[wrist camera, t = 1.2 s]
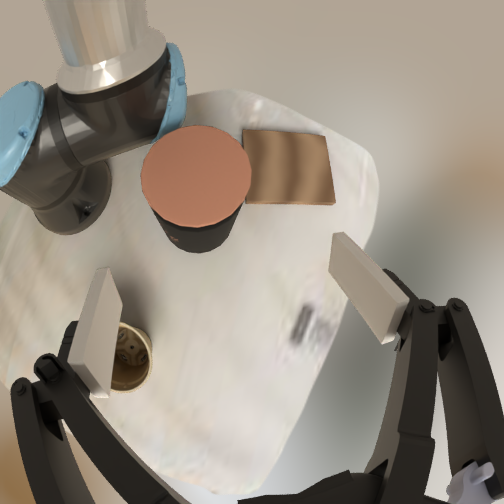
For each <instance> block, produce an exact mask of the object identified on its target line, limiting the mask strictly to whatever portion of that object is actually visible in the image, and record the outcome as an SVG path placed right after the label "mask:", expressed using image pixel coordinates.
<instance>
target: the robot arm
mask: <svg viewBox="0 0 504 504" xmlns="http://www.w3.org/2000/svg"><path fill="white" fill-rule="evenodd" d="M43 3H44V6H45V9H46V12H47V15H48V18H49V20H50V24H51V27H52V29H53V32H54V35H55V38H56V40H57V43H58V46H59V48H60V51H61V53H62V56H63V58H64V60H63V62H62V64H61V65H60V67H59V70H58V72H57V76H56V80H57V83H56V84H54V85H51V86H49V87H48V88H45V89H43V87H42V86H41V85H40V84H37V83H36V82H33V81H31V82H28V81H25V82H22V83H19V84H17V85H15V86H14V87H12V88H11V89H9V90H8V91H7V92H6V93H5V94H4V95H3V96H2V97H1V98H0V190H1V191H3V192H5V193H6V194H8V195H10V196H12V197H13V198H15V199H17V200H19V201H21V202H22V203H24V204H26V205H28V206H30V207H31V208H32V210H33V211H34V214H35V216H36V218H37V219H38V221H39V222H40V223H41V224H42V225H43V226H44V227H45V228H46V229H48V230H50V231H52V232H54V233H57V234H60V235H72V234H76V233H78V232H81V231H83V230H85V229H86V228H88V227H89V226H90V225H91V224H93V223H94V222H95V221H96V220H97V218H98V217H99V216H100V215H101V213H102V212H103V210H104V208H105V206H106V204H107V202H108V199H109V196H110V192H111V174H110V171H109V168H108V166H107V164H106V163H105V161H104V160H105V159H107V158H110V157H112V156H115V155H118V154H121V153H123V152H126V151H129V150H132V149H135V148H138V147H141V146H144V145H147V144H151V143H154V142H156V141H157V140H158V139H161V138H162V137H163V136H164V135H166V134H168V133H170V132H172V131H174V130H176V129H178V128H181V126H182V124H183V122H184V119H185V115H186V108H187V87H186V83H185V69H184V64H183V59H182V55H181V53H180V51H179V49H178V47H177V46H176V45H175V44H174V43H166V40H165V37H164V35H163V34H162V33H161V32H160V31H159V30H156V29H154V28H152V27H150V26H148V20H147V11H146V2H145V0H43ZM328 271H329V273H330V274H331V275H332V277H333V278H334V279H335V281H336V282H337V283H338V285H339V286H340V287H341V289H342V290H343V291H344V293H345V294H346V295H347V297H348V298H349V299H350V301H351V302H352V303H353V305H354V306H355V308H356V309H357V310H358V312H359V313H360V314H361V316H362V317H363V319H364V320H365V321H366V323H367V324H368V326H369V327H370V328H371V330H372V331H373V333H374V334H375V336H376V337H377V338H378V340H379V341H380V343H381V344H384V343H387V342H389V341H392V340H394V337H395V335H396V332H398V334H399V335H400V336H401V337H400V339H399V341H398V343H397V346H396V348H395V350H394V351H396V350H397V348H398V350H397V356H396V362H395V368H394V373H393V378H392V383H391V388H390V393H389V398H388V402H387V406H386V410H385V415H384V418H383V422H382V426H381V430H380V433H379V437H378V440H377V443H376V446H375V450H374V453H373V455H372V457H371V459H370V461H369V462H368V464H367V467H366V468H365V471H364V473H350V471H349V470H346V471H344V472H341V473H339V474H336V475H334V476H331V477H328V478H325V479H323V480H321V481H320V482H318V483H316V484H314V485H313V486H311V487H309V488H307V489H306V490H304V491H302V492H300V493H298V494H289V495H288V494H287V495H263V496H259V497H254V498H248V499H242V500H237V501H238V504H491V503H493V502H495V501H497V500H499V499H502V498H504V415H503V411H502V407H501V402H500V398H499V394H498V390H497V387H496V383H495V380H494V376H493V373H492V370H491V366H490V364H489V361H488V357H487V354H486V352H485V349H484V346H483V343H482V341H481V338H480V335H479V333H478V330H477V328H476V325H475V323H474V321H473V318H472V316H471V313H470V311H469V309H468V306H467V305H466V304H465V303H464V302H463V301H462V300H460V299H458V298H451V299H449V300H448V302H447V305H446V306H435V305H434V304H433V303H432V302H430V301H428V300H426V299H420V300H419V299H418V298H417V297H416V296H415V295H414V293H412V291H411V290H410V289H409V288H408V287H407V286H406V285H405V284H404V283H403V282H402V281H401V280H399V278H398V277H397V276H396V275H395V274H394V273H393V272H391V271H389V270H387V269H381V268H380V267H379V266H378V265H377V264H376V263H375V262H374V261H373V260H372V259H371V258H370V257H369V256H368V255H367V254H366V253H365V252H364V251H363V250H362V249H361V248H360V247H359V246H358V245H357V244H356V243H355V242H354V241H353V240H352V239H351V238H350V237H348V236H347V235H346V234H345V233H344V232H340V233H333V237H332V246H331V254H330V262H329V270H328ZM122 306H123V304H122V301H121V299H120V296H119V293H118V291H117V288H116V285H115V283H114V280H113V277H112V274H111V272H110V269H109V267H107V268H100V269H97V271H96V273H95V276H94V278H93V281H92V284H91V286H90V289H89V292H88V295H87V298H86V300H85V303H84V306H83V309H82V312H81V315H80V318H79V321H72V322H71V323H70V324H69V326H68V327H67V328H66V331H65V334H64V338H63V340H62V345H61V346H60V350H59V353H58V357H56V356H55V355H54V354H51V353H48V354H44V355H42V356H40V357H39V358H38V359H37V361H36V362H35V364H34V373H35V374H36V376H37V377H38V378H39V379H40V381H37V382H34V383H31V382H30V381H29V380H28V379H27V378H24V377H22V378H19V379H17V380H16V381H15V382H14V383H13V384H12V387H11V402H12V410H13V417H14V422H15V428H16V434H17V438H18V444H19V448H20V452H21V456H22V460H23V464H24V468H25V471H26V474H27V478H28V481H29V484H30V487H31V490H32V493H33V496H34V499H35V501H36V504H95V502H94V500H93V498H92V496H91V494H90V492H89V490H88V488H87V486H86V484H85V481H84V479H83V477H82V475H81V472H80V470H79V468H78V465H77V463H76V460H75V458H74V455H73V453H72V450H71V448H70V445H69V442H68V439H67V436H66V433H65V430H64V427H63V424H62V421H61V419H64V421H65V423H66V424H67V426H68V427H69V429H70V431H71V432H72V434H73V435H74V437H75V438H76V440H77V441H78V442H79V444H80V445H81V447H82V448H83V450H84V451H85V452H86V454H87V455H88V457H89V458H90V459H91V461H92V462H93V463H94V465H95V466H96V467H97V468H98V470H99V471H100V472H101V473H102V475H103V476H104V477H105V478H106V480H107V481H108V482H109V483H110V484H111V485H112V486H113V488H114V489H115V490H116V491H117V492H118V493H119V494H120V496H121V497H122V498H123V499H124V500H125V501H126V502H127V503H128V504H191V503H190V502H188V501H187V500H185V499H184V498H183V497H182V496H181V495H180V494H178V493H177V492H176V491H175V490H174V489H172V488H171V487H170V486H169V485H168V484H167V483H166V482H164V481H163V480H162V479H161V478H160V477H159V476H158V475H157V474H156V473H155V472H154V471H153V470H152V469H151V468H149V467H148V466H147V465H146V464H145V463H144V462H143V461H142V460H141V459H140V458H139V457H138V455H137V454H136V453H135V452H134V451H133V450H132V449H131V448H130V447H129V446H128V445H127V444H126V443H125V442H124V440H123V439H122V438H121V437H120V436H119V435H118V434H117V432H116V431H115V430H114V429H113V428H112V427H111V425H110V424H109V423H108V422H107V420H106V419H105V418H104V417H103V416H102V414H101V413H100V412H99V410H98V409H97V408H96V407H95V405H94V404H93V403H92V401H91V400H90V399H89V395H90V392H91V393H92V394H93V395H94V397H95V398H110V388H111V379H112V370H113V362H114V355H115V348H116V341H117V335H118V329H119V323H120V317H121V312H122ZM437 372H438V376H439V382H440V387H441V393H442V399H443V405H444V413H445V420H446V430H447V440H448V453H449V464H450V469H451V474H452V479H451V482H450V485H448V487H447V490H446V492H447V494H448V495H449V500H448V502H445V501H441V500H438V499H435V498H432V497H429V496H426V495H424V493H425V489H426V486H427V481H428V478H429V473H430V469H431V464H432V460H433V454H434V449H435V440H434V439H433V438H431V428H432V422H433V414H434V406H435V396H436V384H437Z"/></svg>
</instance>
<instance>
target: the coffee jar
mask: <svg viewBox="0 0 504 504" xmlns="http://www.w3.org/2000/svg"><path fill="white" fill-rule="evenodd" d="M251 172H252V170H251V166H250V162H249V158H248V155H247V153H246V152H245V150H244V149H243V147H242V146H241V145H240V143H239V142H238V141H237V140H236V139H234V138H233V137H232V136H230V135H229V134H228V133H227V132H224V131H221V130H219V129H216V128H214V127H210V126H199V125H194V126H188V127H182V128H178V129H176V130H174V131H172V132H170V133H168V134H166V135H164V136H163V137H162V138H161V139H160V140H158V141H157V142H156V143H155V144H154V145H153V146H152V147H151V149H150V151H149V152H148V154H147V156H146V157H145V159H144V162H143V167H142V171H141V184H142V191H143V193H144V195H145V197H146V199H147V201H148V203H149V205H150V207H151V209H152V210H153V212H154V214H155V216H156V218H157V219H158V221H159V223H160V225H161V226H162V228H163V230H164V231H165V233H166V235H167V237H168V238H169V240H170V241H171V242H172V243H173V244H174V245H175V246H177V247H178V248H180V249H182V250H184V251H187V252H191V253H203V252H208V251H211V250H213V249H215V248H217V247H218V246H220V245H221V244H222V243H223V242H224V241H225V240H226V238H227V237H228V236H229V233H230V231H231V229H232V226H233V224H234V222H235V220H236V217H237V215H238V213H239V211H240V208H241V206H242V204H243V202H244V199H245V197H246V195H247V192H248V190H249V188H250V185H251Z"/></svg>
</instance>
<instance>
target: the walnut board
mask: <svg viewBox="0 0 504 504" xmlns="http://www.w3.org/2000/svg"><path fill="white" fill-rule="evenodd" d="M242 142H243V149H244V150H245V152H246V153H247V155H248V158H249V162H250V166H251V170H252V172H251V185H250V188H249V190H248V192H247V195H246V197H245V202H246V204H306V205H333V204H335V203H336V200H335V193H334V186H333V179H332V173H331V167H330V161H329V155H328V149H327V144H326V138H325V136H320V135H311V134H302V133H291V132H279V131H263V130H243V133H242Z"/></svg>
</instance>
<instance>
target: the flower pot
mask: <svg viewBox="0 0 504 504" xmlns="http://www.w3.org/2000/svg"><path fill="white" fill-rule="evenodd" d="M121 334H124V335H123V336H122V337H121V338H120V339H119V337H120V335H121ZM131 346H133V348H131ZM151 353H152V346H151V342H150V339H149V338H148V336H147V335H146V334H145V333H144V332H143V331H142V330H140V329H138V328H136V327H132V326H130V325H128V324H126V323H123V322H120V323H119V329H118V335H117V341H116V348H115V355H114V362H113V370H112V379H111V388H110V391H113V392H116V393H130V392H133V391H136V390H137V389H139V388H141V387H142V386H143V385H144V384H145V383H146V381H147V380H148V378H149V376H150V374H151V370H152V354H151ZM121 354H123V355H124V356H125V357H126V358H127V360H124V359H123V358H122V357H121ZM145 354H147V356H146V358H145V359H144V361H142V360H141V358H143V357H144V355H145Z"/></svg>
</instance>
